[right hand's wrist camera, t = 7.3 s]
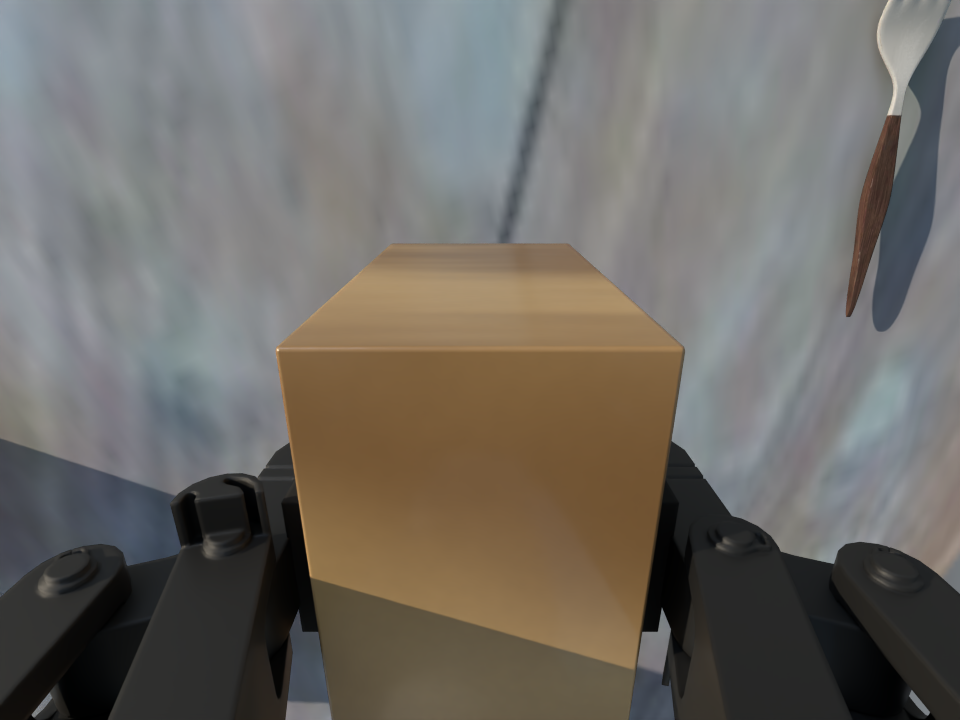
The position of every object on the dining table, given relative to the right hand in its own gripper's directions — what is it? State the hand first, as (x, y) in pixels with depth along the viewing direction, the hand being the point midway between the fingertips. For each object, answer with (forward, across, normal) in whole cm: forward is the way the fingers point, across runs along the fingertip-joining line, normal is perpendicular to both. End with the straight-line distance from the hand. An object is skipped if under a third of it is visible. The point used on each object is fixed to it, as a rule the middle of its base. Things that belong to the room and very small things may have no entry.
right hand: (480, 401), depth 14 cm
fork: (+12, +18, +7) cm, 23 cm away
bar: (+1, 0, -9) cm, 9 cm away
